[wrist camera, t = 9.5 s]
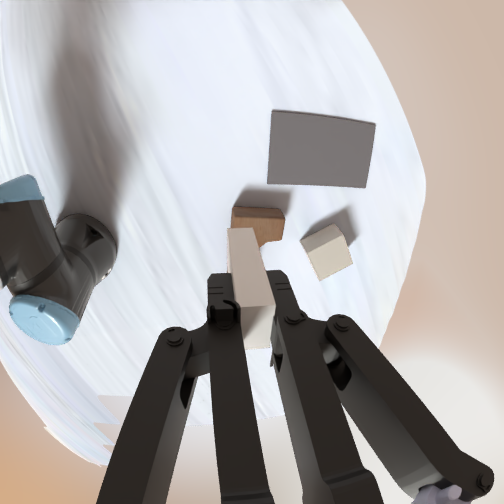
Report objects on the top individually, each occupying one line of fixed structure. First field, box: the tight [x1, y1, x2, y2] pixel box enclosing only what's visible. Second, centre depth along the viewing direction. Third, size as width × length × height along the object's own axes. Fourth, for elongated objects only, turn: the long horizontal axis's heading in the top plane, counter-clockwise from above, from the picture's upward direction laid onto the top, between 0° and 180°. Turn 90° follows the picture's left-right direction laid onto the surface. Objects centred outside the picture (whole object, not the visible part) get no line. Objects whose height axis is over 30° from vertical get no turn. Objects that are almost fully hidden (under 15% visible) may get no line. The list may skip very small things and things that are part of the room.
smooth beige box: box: [300, 223, 353, 281], centre depth 55 cm, size 8×8×5 cm
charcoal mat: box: [267, 112, 376, 188], centre depth 46 cm, size 20×13×1 cm, turn 87°
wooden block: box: [227, 207, 285, 273], centre depth 53 cm, size 9×4×18 cm
